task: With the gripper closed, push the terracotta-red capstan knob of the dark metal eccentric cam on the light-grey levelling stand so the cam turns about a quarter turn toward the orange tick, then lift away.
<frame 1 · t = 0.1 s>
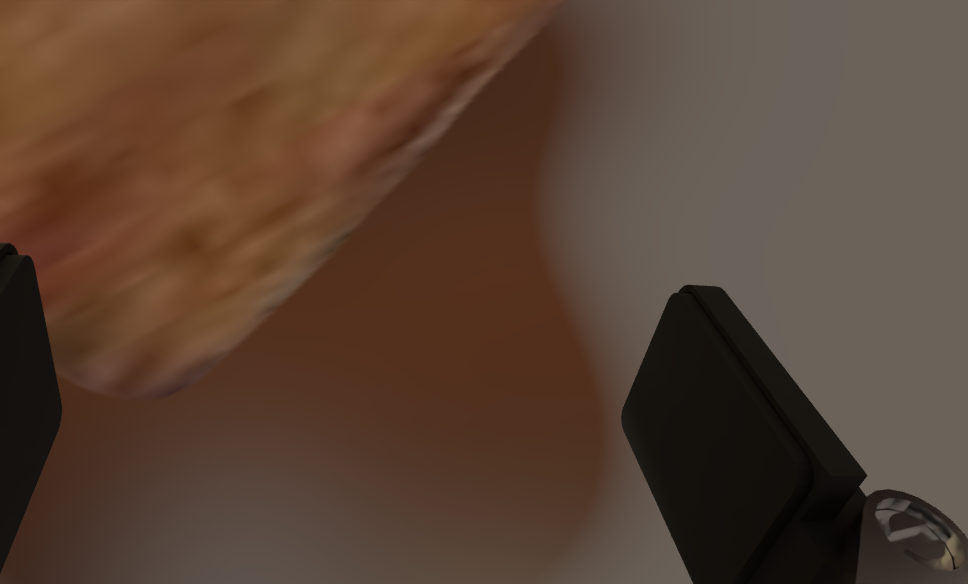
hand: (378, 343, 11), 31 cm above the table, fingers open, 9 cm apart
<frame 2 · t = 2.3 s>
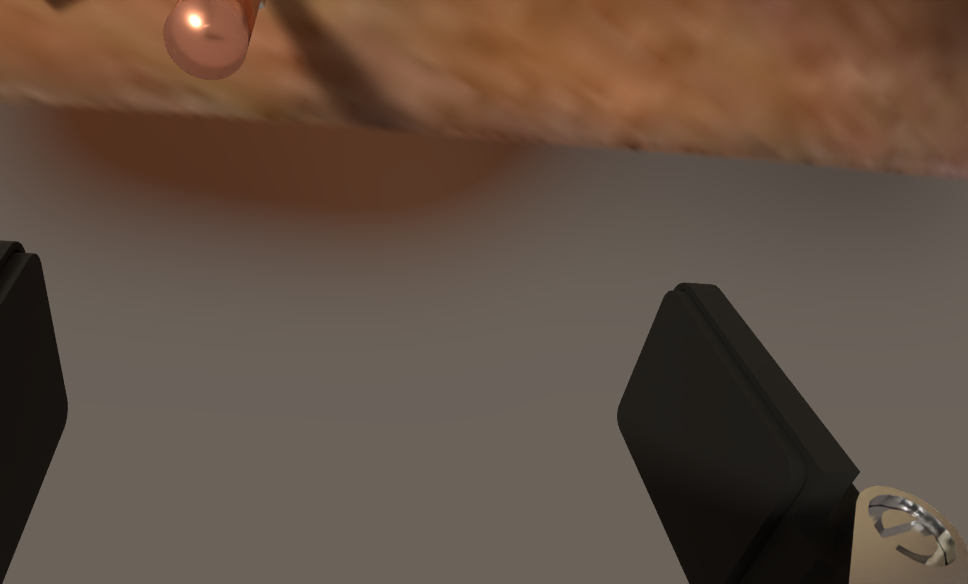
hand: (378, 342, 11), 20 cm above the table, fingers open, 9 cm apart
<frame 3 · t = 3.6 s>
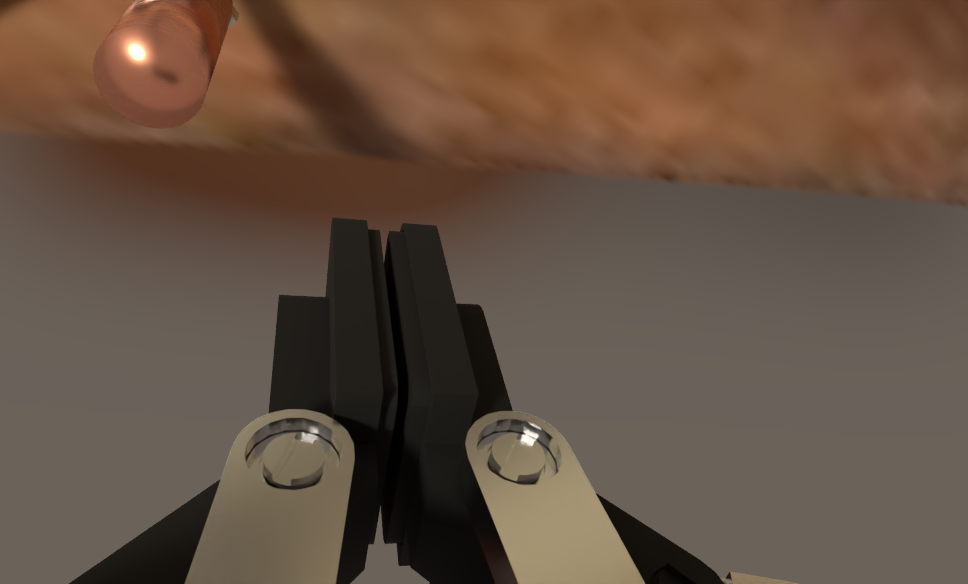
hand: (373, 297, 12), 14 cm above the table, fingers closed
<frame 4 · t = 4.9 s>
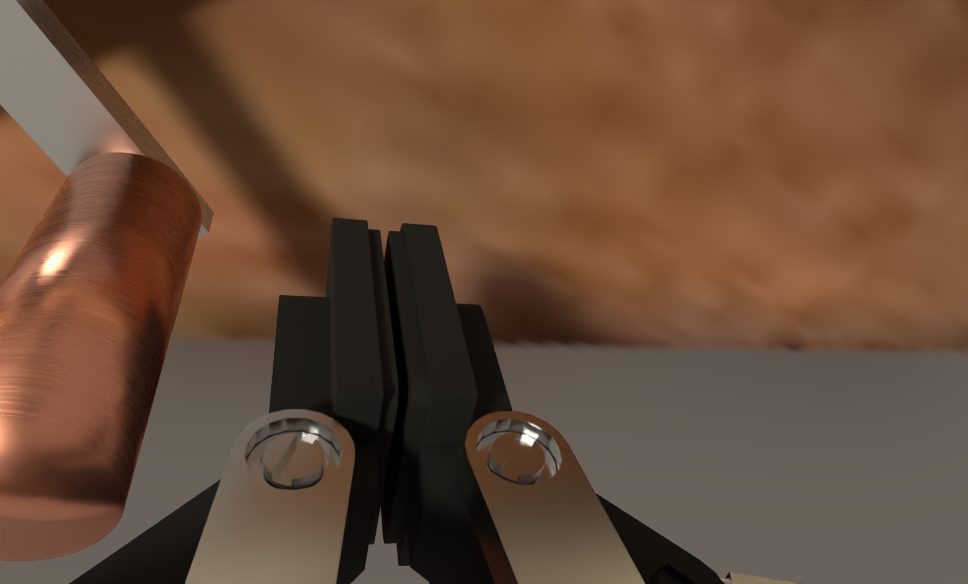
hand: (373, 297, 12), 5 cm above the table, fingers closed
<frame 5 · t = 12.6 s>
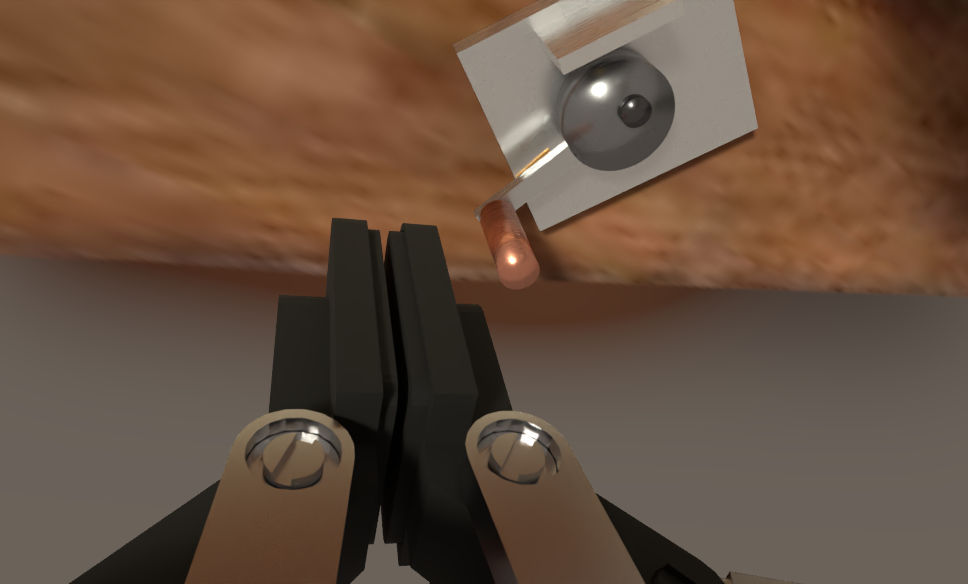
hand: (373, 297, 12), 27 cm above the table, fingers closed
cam: (582, 172, 36), point 6 cm above the table, hinge at -76.4°
stand: (609, 83, 39), on the table
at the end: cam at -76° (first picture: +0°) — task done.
